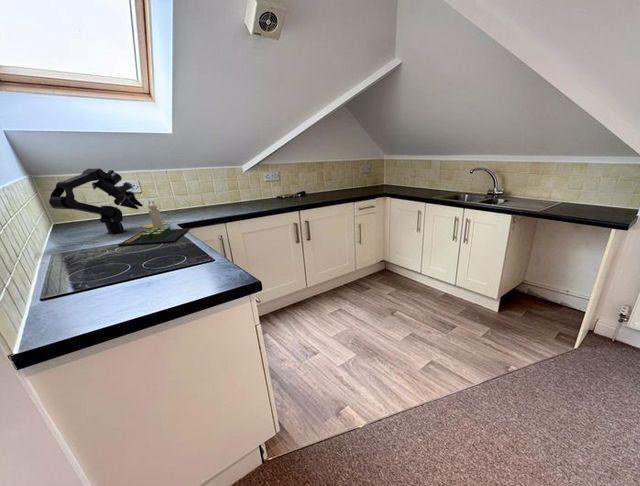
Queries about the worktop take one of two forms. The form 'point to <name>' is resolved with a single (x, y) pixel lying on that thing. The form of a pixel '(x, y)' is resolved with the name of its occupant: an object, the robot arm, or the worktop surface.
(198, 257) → the worktop surface
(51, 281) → the worktop surface
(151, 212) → the toy rabbit
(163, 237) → the sushi
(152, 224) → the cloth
